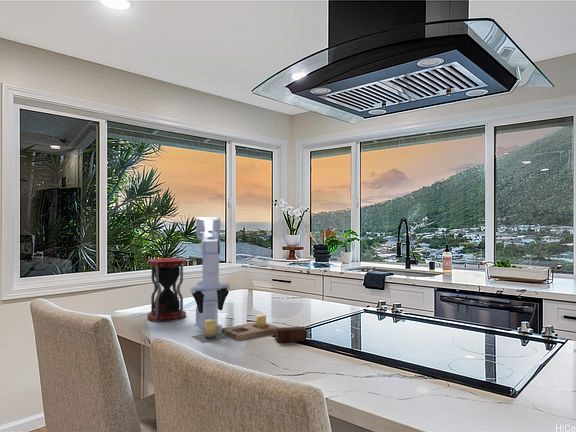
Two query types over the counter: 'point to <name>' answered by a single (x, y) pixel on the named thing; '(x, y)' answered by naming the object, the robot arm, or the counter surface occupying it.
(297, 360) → the counter surface
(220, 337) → the mat
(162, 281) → the hourglass
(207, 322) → the yellow peg
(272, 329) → the socket board
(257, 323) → the tan domed cylinder
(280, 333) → the brick
